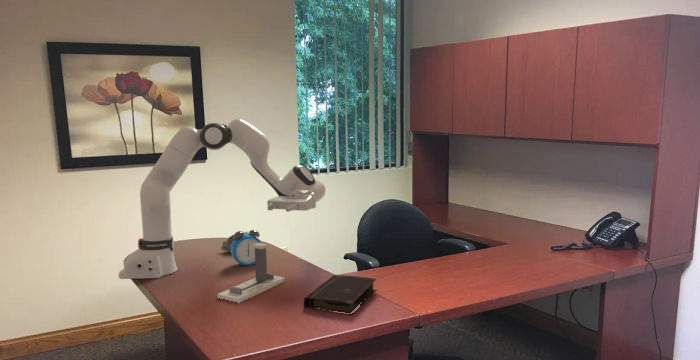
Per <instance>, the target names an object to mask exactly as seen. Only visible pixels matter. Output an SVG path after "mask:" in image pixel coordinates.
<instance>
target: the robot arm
mask: <svg viewBox="0 0 700 360" xmlns="http://www.w3.org/2000/svg"><path fill="white" fill-rule="evenodd" d="M227 144H233V145H235V146H236V147H238V148H239V149H240V150H241V151H242V152H243V153H245V155H246V156H247V157H248V159H249V160H250V161H249V162H250V163H249V164H250V165H251V166H252V168H253V170H255V171H256V173H258V175H259V176H260V177H261V178H262V179H263V180H265V182H266V183H267V184H268V185H269V186H270V187H271V188H272V189H273V190H274V191H275V193H276V195H277V196H275V197H272V198H270V199H268V200H267V204H266V205H267V207H266V208H267V210H268V211H274V210H283V211H284V210H285V212H288V213H289V212H291V211H301V212H302V211H305V212H306V211H309V210H311V209H315V208H317V202H319V201H321V200H323V198H324V197H325V195H326V187H325V184H324V183H323V182H321V181H320V180H318V179H316V178H315V176H314V175H313V173H312V172H311V170H310V169H309V168H308V167H306V166H304V165H299V164H298V165H294V166H293V167H292V168H291V169H290V170H289V171H288V172H287V173H286V175H285V176H284V177H281V176H279V175H278V173H276V171H275V170H274V169H272V167H270V164H269V163H268V157H269V152H270V148H271V147H270V141H269V139H268V137H267V136H266V135H265V134H264V133H263V132H261V131H260V130H259V129H257V128H256V127H255V126H254V125H252V124H251V123H249V122H247V121H245V120H244V119H242V118H235V119H233V120H231V121H230V122H229V124H223V123H217V122H211V123H208V124H205V125H204V126H203V127H202V128H201V129H197V128H195V127H193V126H189V125H187V126H182V127H181V128H180V129H179V130H178V131H177V132H176V133H175V134H174V136H173V137H172V138H171V140H170V141H169V142H168V144H167V145H166V147H165V149H164V151H163V152H162V154H161V155H160V157H159V158H158V160H157V161H156V163H155V164H154V166H153V167H152V169H150V171H149V173H148V175H147V176H146V177H145V179H144V181H143V182H142V183H141V186H140V191H139V192H140V193H139V198H140V199H139V200H140V211H141V221H142V222H141V223H142V224H141V225H142V237H140V238H138V239H137V241H138V242H137V249H136V250H135V251H134V252H132V253H131V254H130V255H129V256H128V257H127V258H126V259H125V262H124V267H123V268H122V269H120V270H119V271H118V278H119V279H121V280H124V279H125V280H131V279H133V280H134V279H136V280H137V279H159V278H162V277H163V276H167V275H170V274H173V273H176V272H177V271H178V266H177V263H176V260H175V255H174V248H175V246H174V245H175V244H174V236H172V235H173V234H172V219H171V218H172V215H171V211H172V210H171V191H172V190H173V188H174V187H175V186H176V184H177V183H178V181H179V179H181V177H182V176H183V174H184V173H185V171H186V169H187V168H188V167H189V165H190V163H191V162H192V160H193V159H194V156H195V155H196V153H197V152H198V151H199V150H200V149H201V148H206V149H209V150H211V151H219V150H221V149H223V148H224V147H225V146H226V145H227Z"/></svg>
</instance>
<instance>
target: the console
mask: <svg viewBox="0 0 700 360" xmlns="http://www.w3.org/2000/svg"><path fill="white" fill-rule="evenodd" d="M285 281H286V279H285V277H283V276H279V275H275V274H274V273H270V272H267V280H266V281H264V282H258V281H256V277H254V278H251V279H249V280H247V281H245V282H242V283H240V284H238V285H235V286H234V285H233V286H232V285H231V286H229V289H226V290H224V291H222V292H219V293H217V299H219V298H220V300H223V299H225V300H224V301H227V300H229V301H228V302H231V301H233V302H232V303H235V302H237V303H236V304H241V303H242V301H243V302H244V300H245V301H247V300H249V299H251V298H253V297H255V296H257V295H259V294H261V293H263V292H265V291H268V290H270V289H272V288H274V287H276V286H278V285H280V284H282V283H284V282H285ZM248 298H249V299H248ZM246 299H247V300H246ZM240 302H241V303H240Z"/></svg>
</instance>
